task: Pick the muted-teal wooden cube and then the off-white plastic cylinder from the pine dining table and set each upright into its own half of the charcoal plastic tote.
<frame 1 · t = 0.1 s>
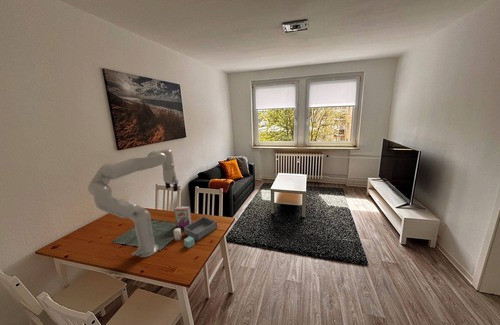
hand: (172, 189, 143), 37 cm above the table, tool pointing down, fingers open, 9 cm apart
candy bar box: (184, 225, 163), on the table
tote: (201, 231, 154), on the table
white cylinder: (178, 238, 147), on the table
teal cube: (189, 245, 139), on the table
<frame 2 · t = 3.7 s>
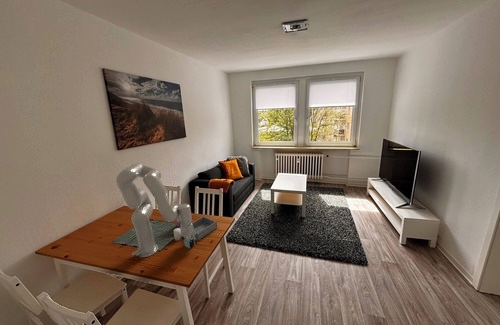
hand: (189, 244, 138), 0 cm above the table, tool pointing down, fingers closed on teal cube, 5 cm apart
teal cube: (189, 245, 139), on the table, touching gripper
everything else where it was.
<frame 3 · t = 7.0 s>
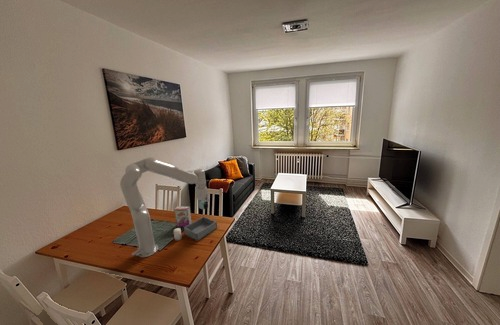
hand: (203, 207, 153), 19 cm above the table, tool pointing down, fingers closed on teal cube, 5 cm apart
teal cube: (203, 207, 153), point 18 cm above the table, touching gripper
everything else where it was.
when the fingers open (3 cm above the table, at t = 10.2 s): teal cube drops 1 cm, resting on tote.
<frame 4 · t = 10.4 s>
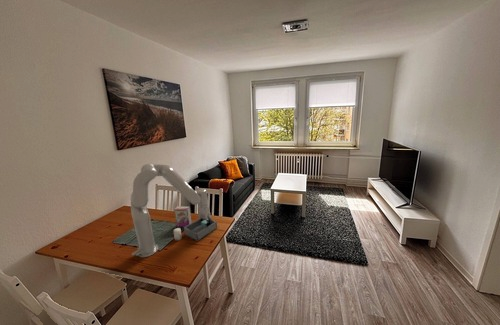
hand: (205, 224, 157), 3 cm above the table, tool pointing down, fingers open, 7 cm apart
teal cube: (206, 227, 158), point 1 cm above the table, touching tote
everything else where it was.
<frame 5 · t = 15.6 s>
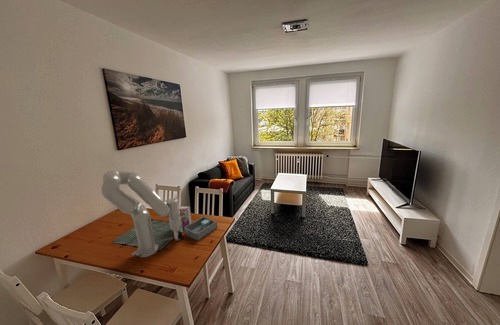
hand: (178, 237, 147), 1 cm above the table, tool pointing down, fingers closed on white cylinder, 4 cm apart
white cylinder: (178, 238, 147), on the table, touching gripper
everything else where it was.
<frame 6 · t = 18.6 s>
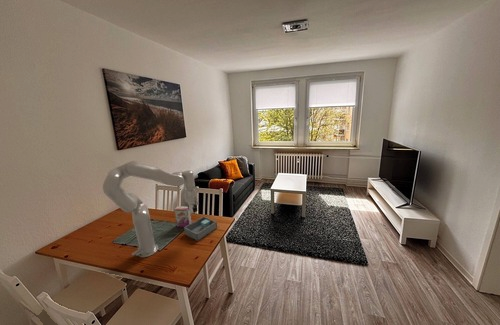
hand: (192, 210, 145), 20 cm above the table, tool pointing down, fingers closed on white cylinder, 4 cm apart
white cylinder: (193, 211, 146), point 19 cm above the table, touching gripper
everything else where it was.
when the fingers open (3 cm above the table, at t = 22.0 s): white cylinder drops 1 cm, resting on tote.
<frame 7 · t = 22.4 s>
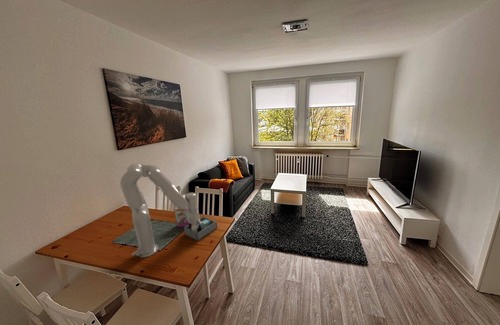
hand: (195, 229, 149), 4 cm above the table, tool pointing down, fingers open, 9 cm apart
white cylinder: (195, 233, 150), point 1 cm above the table, touching tote
everything else where it was.
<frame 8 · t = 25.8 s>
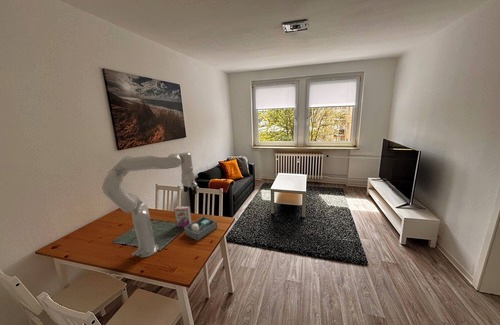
hand: (190, 192, 142), 34 cm above the table, tool pointing down, fingers open, 9 cm apart
nothing on the table moved.
at the end: teal cube inside the target area on the tote (5.0 cm from its centre), point 0.8 cm above the tote's base; white cylinder inside the target area on the tote (5.0 cm from its centre), point 0.8 cm above the tote's base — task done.
